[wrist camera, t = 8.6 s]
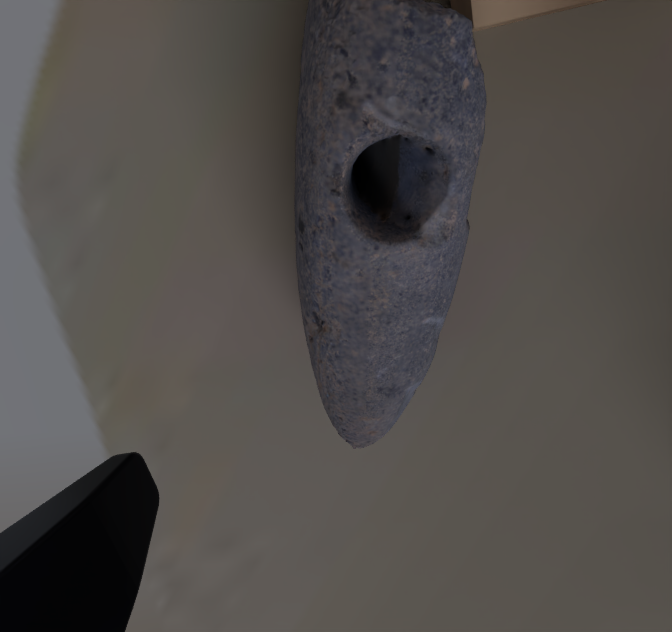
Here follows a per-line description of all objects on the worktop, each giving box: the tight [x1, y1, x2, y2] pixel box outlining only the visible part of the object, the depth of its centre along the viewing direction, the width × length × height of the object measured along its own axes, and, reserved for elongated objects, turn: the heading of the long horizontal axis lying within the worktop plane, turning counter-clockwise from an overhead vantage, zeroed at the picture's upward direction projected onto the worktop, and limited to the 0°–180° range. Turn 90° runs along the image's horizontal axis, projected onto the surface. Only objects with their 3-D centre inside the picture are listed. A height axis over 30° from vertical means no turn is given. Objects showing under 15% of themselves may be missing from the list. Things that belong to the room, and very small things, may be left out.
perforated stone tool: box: [295, 0, 486, 449], centre depth 17 cm, size 15×5×7 cm, turn 176°
